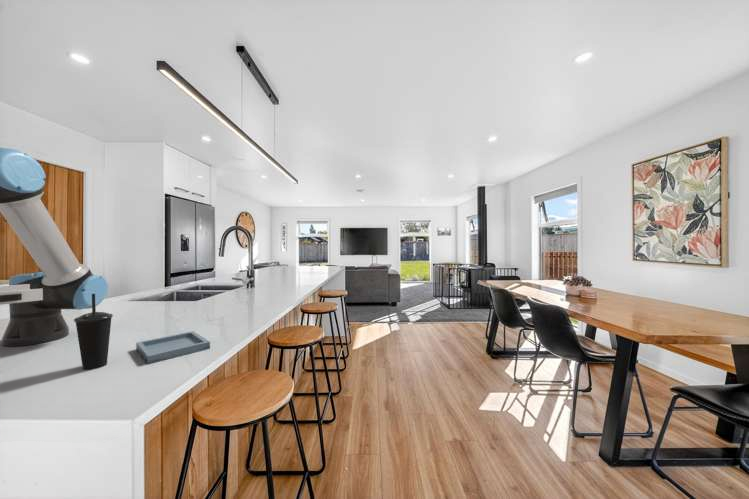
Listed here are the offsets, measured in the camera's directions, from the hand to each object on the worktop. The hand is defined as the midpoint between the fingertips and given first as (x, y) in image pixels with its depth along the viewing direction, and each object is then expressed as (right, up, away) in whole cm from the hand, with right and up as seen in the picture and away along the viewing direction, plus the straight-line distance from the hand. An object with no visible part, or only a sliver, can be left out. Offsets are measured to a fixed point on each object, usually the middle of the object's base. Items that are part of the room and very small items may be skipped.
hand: (36, 291), depth 73 cm
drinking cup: (+8, -22, +7) cm, 24 cm away
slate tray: (+21, -21, +19) cm, 36 cm away
